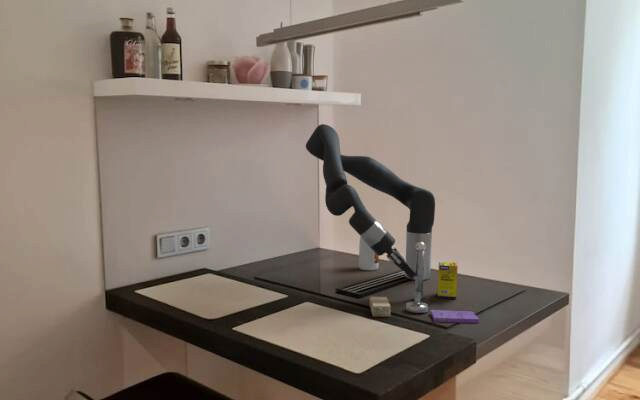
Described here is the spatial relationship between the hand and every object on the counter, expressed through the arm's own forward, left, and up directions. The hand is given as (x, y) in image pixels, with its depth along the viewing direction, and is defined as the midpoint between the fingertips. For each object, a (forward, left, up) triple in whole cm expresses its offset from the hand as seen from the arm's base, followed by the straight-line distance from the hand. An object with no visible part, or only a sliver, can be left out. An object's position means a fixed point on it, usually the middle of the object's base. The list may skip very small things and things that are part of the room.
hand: (413, 276), depth 178 cm
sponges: (+20, +9, -8) cm, 23 cm away
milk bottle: (-41, -10, -8) cm, 43 cm away
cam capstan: (+7, 0, -7) cm, 10 cm away
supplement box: (-3, +12, -8) cm, 14 cm away
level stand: (+14, -12, -7) cm, 20 cm away
